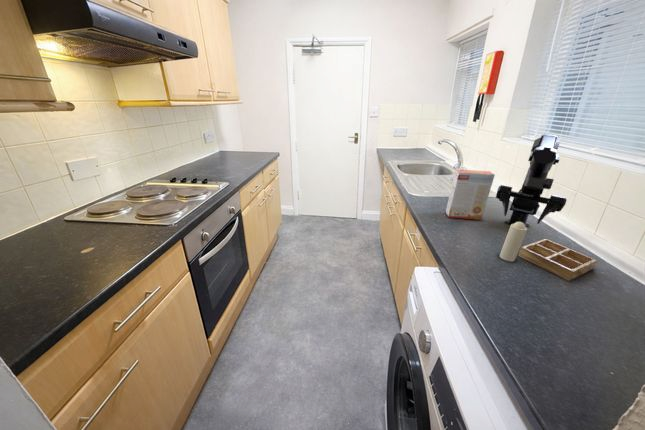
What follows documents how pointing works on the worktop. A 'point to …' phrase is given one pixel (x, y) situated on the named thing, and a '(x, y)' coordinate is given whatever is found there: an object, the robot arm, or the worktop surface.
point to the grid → (557, 258)
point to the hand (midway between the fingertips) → (521, 219)
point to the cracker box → (469, 194)
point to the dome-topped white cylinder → (513, 241)
